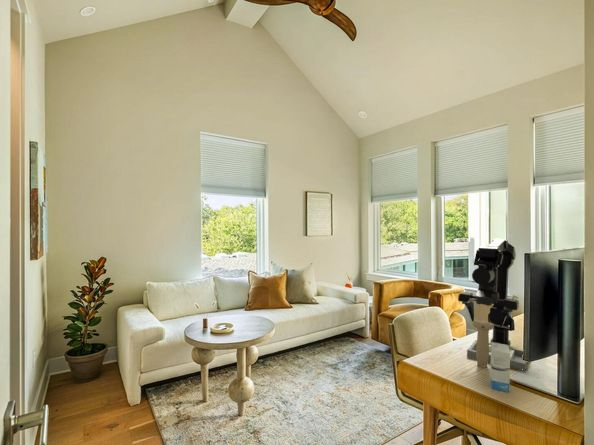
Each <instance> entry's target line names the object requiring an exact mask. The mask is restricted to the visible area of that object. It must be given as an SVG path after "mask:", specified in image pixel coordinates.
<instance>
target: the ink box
mask: <svg viewBox="0 0 594 445" xmlns="http://www.w3.org/2000/svg"><path fill="white" fill-rule="evenodd" d="M490 343H491V362H490V365H489V366H490V370H489V372H490V373H489V374H490V375H489V380H490V389H492V390H497V391H501V392H506V393H510V383H511V382H510V378H511V376H510V375H511V368H510V351H509V346H510V345H509V346H508V345H505V344H500V343H494V342H490Z"/></svg>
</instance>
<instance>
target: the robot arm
mask: <svg viewBox="0 0 594 445" xmlns="http://www.w3.org/2000/svg"><path fill="white" fill-rule="evenodd" d="M516 257H517V256H516V249H515V247H514V246H513V245H511V243H509V241H508V240H507V239H505V238H493V239H492V242H490V243H489V244H488V245H482V246H479V247H478V248H477V249H476V252H475V258H474V260H473V261H474V262H473V266H478V268H475V269H474V270H473V272H472V274H471V277H472V280H473V282H474V283H476V284H477V285H478V288H477V291H476V293H475V295H474V294H473V292H467V291H462V292H460V293H459V294H458V296H457V301H458V302H461V304H462V305H464V306H465V307H466V308H467V310H468V313H469V314H468V315H469V316H470V320H471V322H472V323H473V321H475V305H474V304H477V305H485V306H487V307H489V306H491V307H490V309H489V311H488V315H487V322H489V323H493V324H494V329H492V338H491V339H490V340H489V343H491V342H494V343H500V344H505V345H508V346H510V343H512V342H511V340H509V337H510V332H513V331H514V332H515V328H516V327H515V319H514V318H513V315H512V312H514V311H518V309H519V308H520V301H519V300H518V299H515V298H508V295H509V294H508V292H509V273H510V272H509V270H510V268H511V267H512V266H513V265H514V261H515V260H516Z"/></svg>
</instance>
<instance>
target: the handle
mask: <svg viewBox="0 0 594 445" xmlns="http://www.w3.org/2000/svg"><path fill="white" fill-rule="evenodd" d="M472 325H473V327H474V328H475V329H477V337H476V340H477V345H476V357H477V359H476V364H477V366H479V367H482V368H487V367H488V363H489V362H488V359H489V343H490V340H489V339H490V337H489V336H490V335H489V334H490V331H491V330H492V331H493V329H494V324H493V323H489V322H488V321H484V320H474V321H473V322H472Z"/></svg>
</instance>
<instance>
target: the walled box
mask: <svg viewBox="0 0 594 445" xmlns="http://www.w3.org/2000/svg"><path fill="white" fill-rule="evenodd" d="M476 345H477V339H475V340H474V341H473V342H472V343H471V345H470V346H469V347H468V348H467V349H466V350H467V351H466V357H467V358H472V359H476V360H477V357H476ZM509 351H510V369H515V370H519V371H522V369H523V370H525V369H526V368H527V367H526V366H528V363H529V361H528V362H526V361H523V360H522V355H523V351H524V350H522V349H519V348H514V347H509ZM488 363H491V342H489V359H488ZM526 370H527V369H526ZM526 370H525V371H526Z"/></svg>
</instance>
